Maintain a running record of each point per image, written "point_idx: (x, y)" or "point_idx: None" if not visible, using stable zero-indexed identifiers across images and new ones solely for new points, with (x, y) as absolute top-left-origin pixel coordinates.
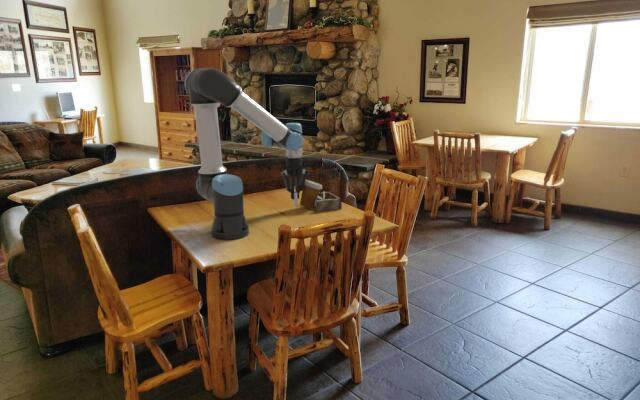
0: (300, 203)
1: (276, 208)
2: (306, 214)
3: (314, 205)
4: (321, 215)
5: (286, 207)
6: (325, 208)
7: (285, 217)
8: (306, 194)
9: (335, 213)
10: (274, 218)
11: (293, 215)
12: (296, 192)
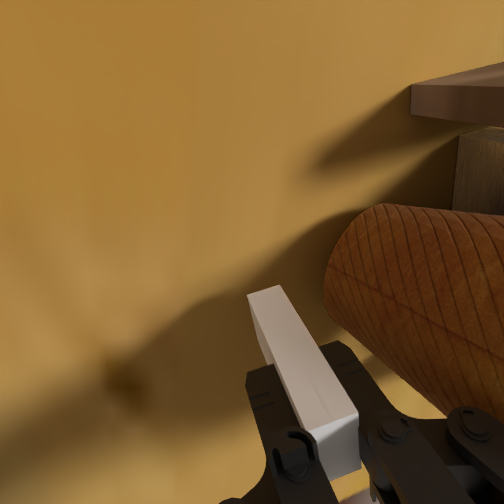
0: (331, 302)
1: (41, 235)
2: None
3: (455, 182)
4: (395, 407)
5: (170, 207)
6: None
7: (156, 462)
8: None
9: None
10: (67, 489)
11: (219, 422)
12: (355, 454)
